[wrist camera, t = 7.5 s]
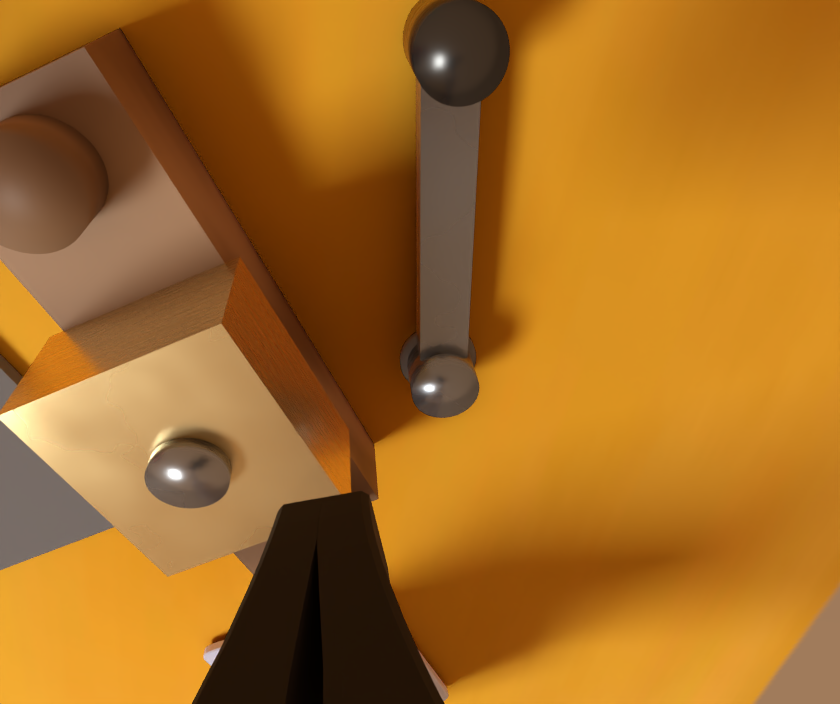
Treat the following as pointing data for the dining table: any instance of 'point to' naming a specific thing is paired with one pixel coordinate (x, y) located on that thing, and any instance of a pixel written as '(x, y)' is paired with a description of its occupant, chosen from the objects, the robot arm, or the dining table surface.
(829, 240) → the dining table surface
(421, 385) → the lever
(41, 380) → the wooden block
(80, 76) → the plane body
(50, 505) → the mat
